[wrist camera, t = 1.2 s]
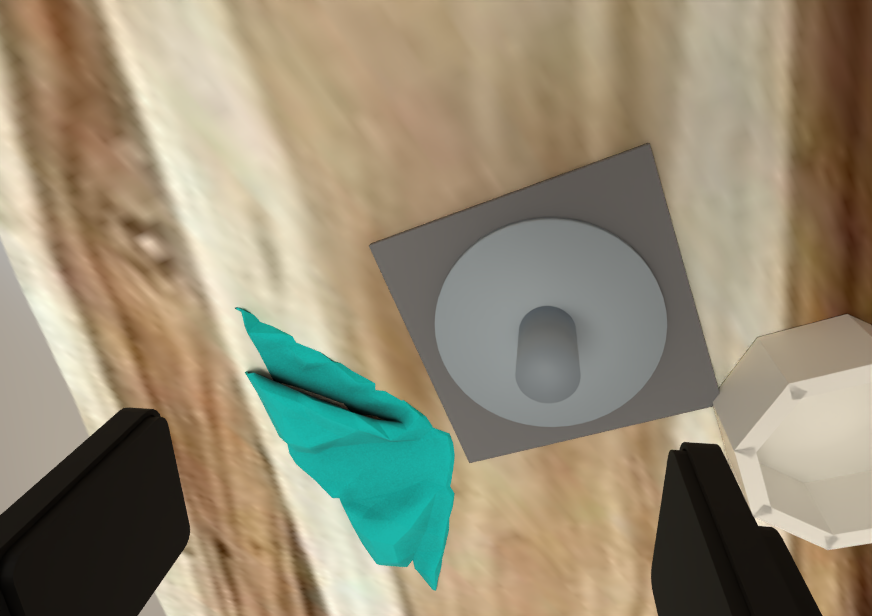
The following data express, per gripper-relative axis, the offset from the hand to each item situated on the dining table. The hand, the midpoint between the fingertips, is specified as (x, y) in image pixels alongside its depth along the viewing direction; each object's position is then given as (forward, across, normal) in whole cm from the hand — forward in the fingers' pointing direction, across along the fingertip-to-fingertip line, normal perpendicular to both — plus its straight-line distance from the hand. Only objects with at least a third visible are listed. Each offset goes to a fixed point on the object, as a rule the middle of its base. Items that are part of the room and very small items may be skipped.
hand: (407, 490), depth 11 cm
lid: (+24, -4, +7) cm, 26 cm away
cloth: (+26, +8, +18) cm, 33 cm away
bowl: (+25, -19, +12) cm, 33 cm away
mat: (+25, -4, +7) cm, 26 cm away
